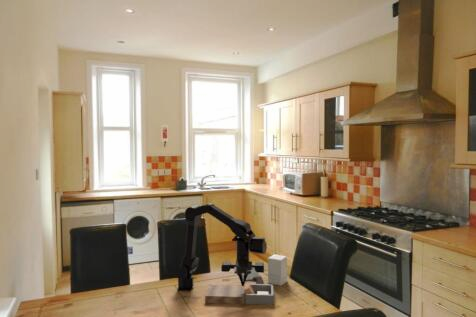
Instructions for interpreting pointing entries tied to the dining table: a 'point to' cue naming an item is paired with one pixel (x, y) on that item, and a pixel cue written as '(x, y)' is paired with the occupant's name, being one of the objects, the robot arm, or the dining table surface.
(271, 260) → the supplement box
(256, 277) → the cleaver
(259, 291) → the cream tile
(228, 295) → the tan board
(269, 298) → the box
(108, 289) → the dining table surface
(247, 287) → the terracotta tile
